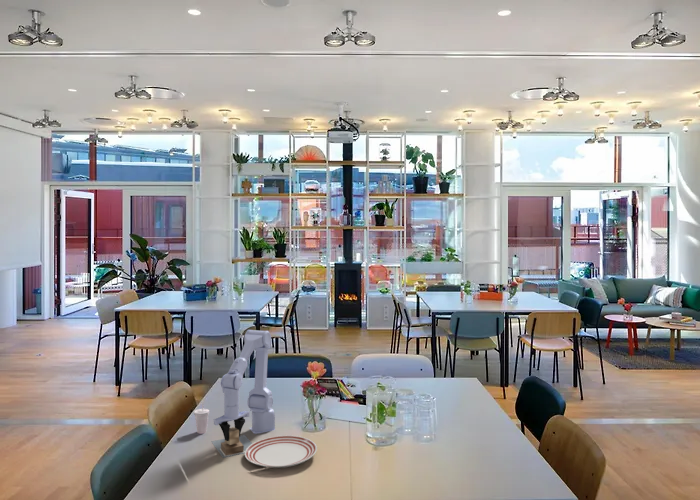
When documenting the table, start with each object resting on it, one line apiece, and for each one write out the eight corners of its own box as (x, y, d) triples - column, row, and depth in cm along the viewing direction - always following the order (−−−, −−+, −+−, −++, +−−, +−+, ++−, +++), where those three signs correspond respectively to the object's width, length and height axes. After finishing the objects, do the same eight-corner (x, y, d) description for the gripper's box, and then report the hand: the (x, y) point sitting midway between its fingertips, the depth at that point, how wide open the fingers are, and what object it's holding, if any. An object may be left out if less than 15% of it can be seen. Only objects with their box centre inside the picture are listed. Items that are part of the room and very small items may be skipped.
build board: (244, 436, 223) (244, 434, 223) (258, 451, 208) (258, 450, 208) (211, 442, 217) (211, 441, 217) (223, 459, 201) (223, 457, 201)
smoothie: (205, 436, 223) (205, 403, 222) (191, 435, 224) (191, 402, 224) (212, 431, 229) (211, 399, 229) (198, 430, 231) (198, 398, 230)
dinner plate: (257, 480, 184) (257, 470, 184) (236, 450, 208) (236, 442, 208) (328, 464, 197) (329, 455, 197) (301, 438, 221) (300, 430, 221)
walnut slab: (238, 445, 212) (238, 439, 212) (243, 451, 206) (243, 445, 206) (221, 449, 209) (220, 442, 209) (225, 455, 203) (225, 449, 203)
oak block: (234, 439, 210) (233, 426, 210) (239, 442, 208) (238, 429, 207) (224, 442, 208) (224, 429, 208) (230, 445, 205) (229, 432, 205)
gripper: (242, 397, 215) (243, 430, 215) (209, 405, 205) (210, 440, 206) (252, 402, 210) (252, 436, 210) (218, 410, 200) (219, 446, 200)
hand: (232, 438), depth 207 cm, fingers open, 4 cm apart
